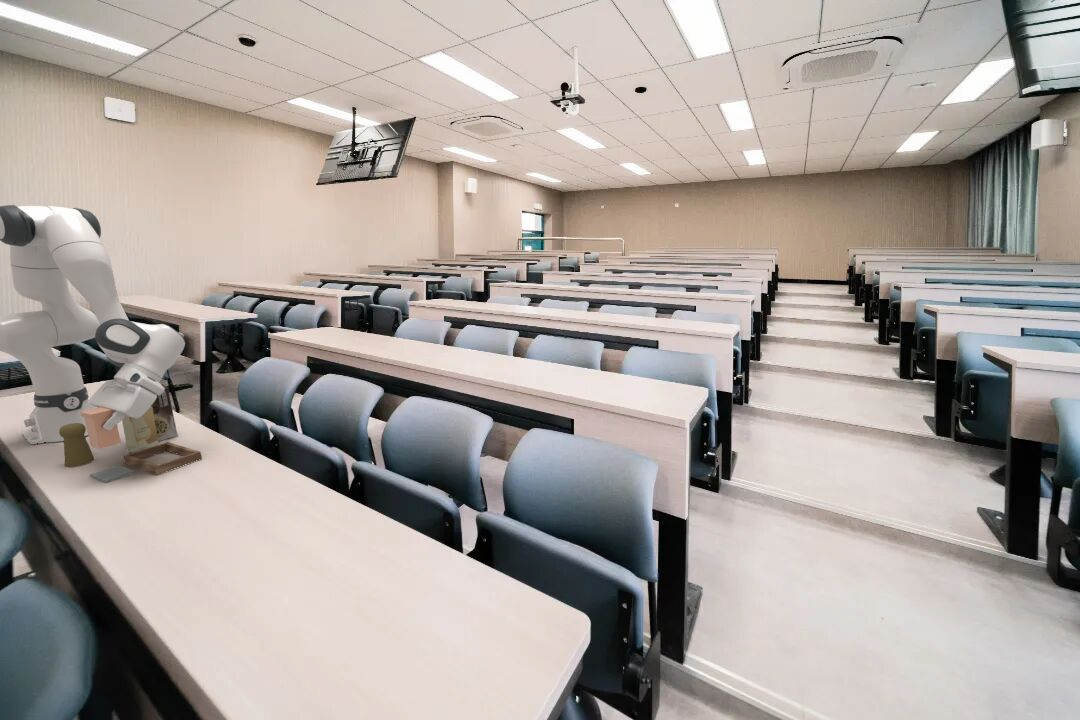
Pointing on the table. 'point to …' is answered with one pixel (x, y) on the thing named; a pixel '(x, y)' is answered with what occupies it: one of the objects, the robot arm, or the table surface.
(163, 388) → the robot arm
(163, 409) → the coffee box
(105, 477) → the slate mat
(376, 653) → the table surface
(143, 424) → the skincare box
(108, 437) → the peach upright block
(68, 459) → the cork
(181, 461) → the walnut frame
